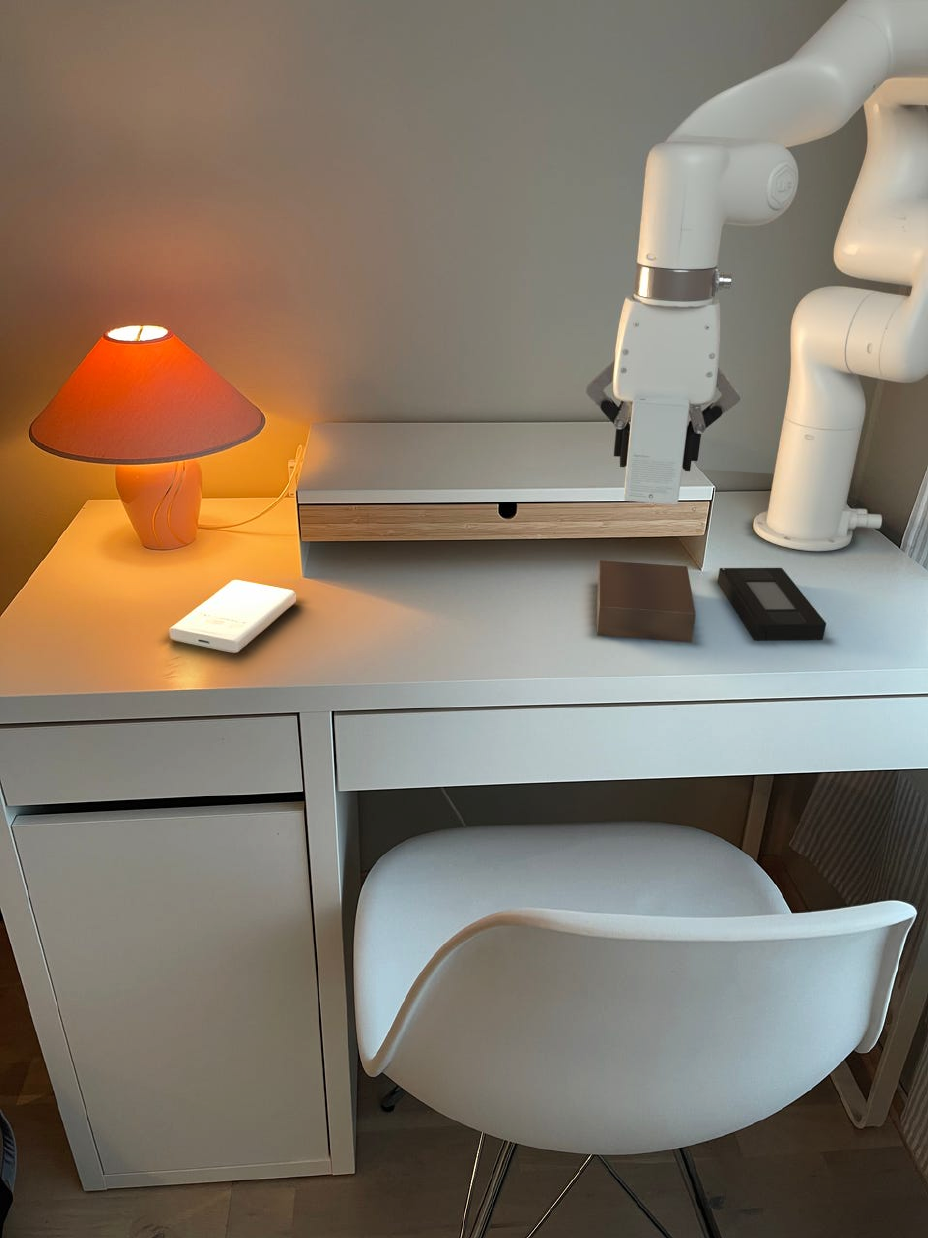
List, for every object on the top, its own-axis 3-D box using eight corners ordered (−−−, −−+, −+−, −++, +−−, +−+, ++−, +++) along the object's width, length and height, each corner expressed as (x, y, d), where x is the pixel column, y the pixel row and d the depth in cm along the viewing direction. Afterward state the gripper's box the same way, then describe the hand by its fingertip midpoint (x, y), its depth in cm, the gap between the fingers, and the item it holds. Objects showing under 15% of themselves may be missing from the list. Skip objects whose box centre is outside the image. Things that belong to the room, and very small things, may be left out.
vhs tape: (778, 582, 119) (781, 567, 118) (823, 640, 106) (827, 624, 105) (717, 583, 118) (719, 567, 117) (754, 641, 106) (757, 624, 105)
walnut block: (683, 593, 116) (687, 566, 114) (691, 642, 105) (695, 613, 104) (597, 587, 117) (600, 560, 115) (596, 635, 106) (599, 606, 105)
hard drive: (297, 603, 112) (238, 654, 101) (233, 591, 114) (169, 640, 104) (296, 590, 111) (236, 640, 100) (232, 578, 113) (168, 626, 103)
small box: (677, 506, 100) (690, 404, 96) (622, 501, 101) (632, 400, 97) (678, 480, 107) (691, 384, 103) (626, 476, 108) (636, 380, 104)
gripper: (761, 281, 97) (734, 458, 106) (585, 274, 99) (572, 449, 107) (772, 294, 91) (742, 482, 99) (583, 287, 92) (570, 472, 101)
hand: (654, 463), depth 103 cm, fingers closed on small box, 5 cm apart
